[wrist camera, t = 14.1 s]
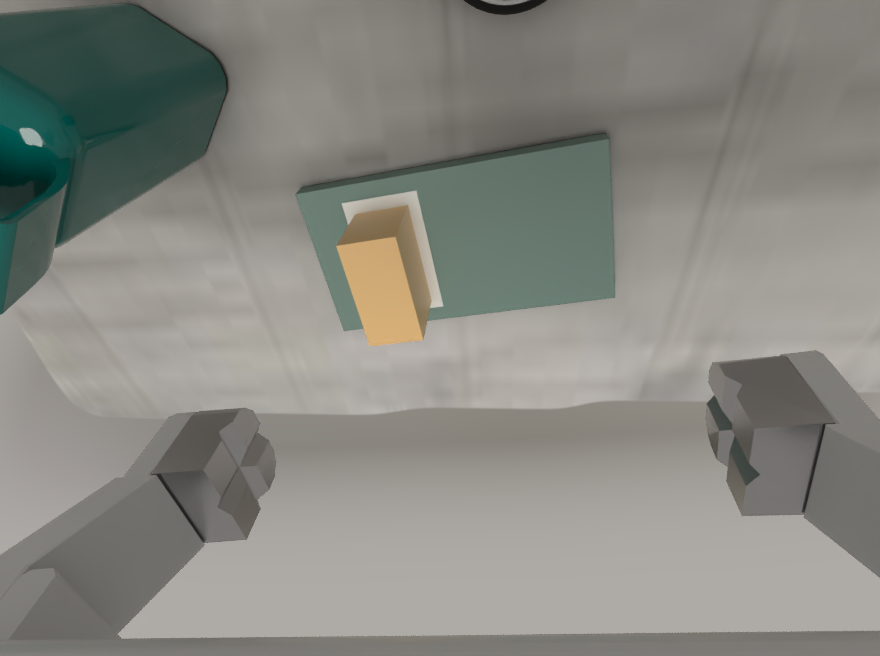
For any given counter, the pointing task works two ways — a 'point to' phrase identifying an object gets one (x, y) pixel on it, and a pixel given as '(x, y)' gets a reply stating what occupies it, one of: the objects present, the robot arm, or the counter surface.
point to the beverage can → (504, 5)
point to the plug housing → (386, 275)
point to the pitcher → (91, 123)
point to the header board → (486, 227)
